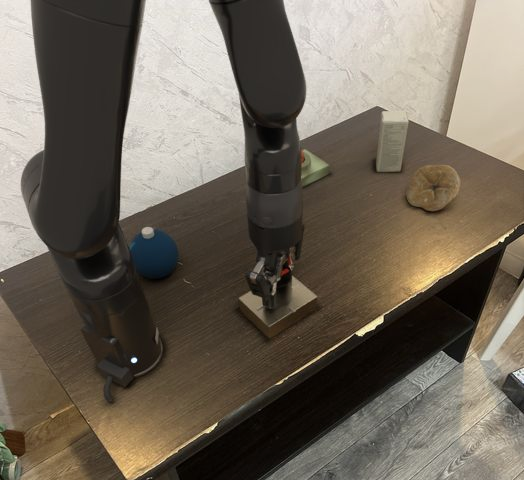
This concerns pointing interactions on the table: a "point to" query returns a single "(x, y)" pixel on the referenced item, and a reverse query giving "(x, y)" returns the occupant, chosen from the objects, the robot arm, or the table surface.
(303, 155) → the button
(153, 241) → the christmas ornament
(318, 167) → the button block
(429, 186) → the fossil
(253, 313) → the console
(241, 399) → the table surface
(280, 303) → the dial
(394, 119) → the box
